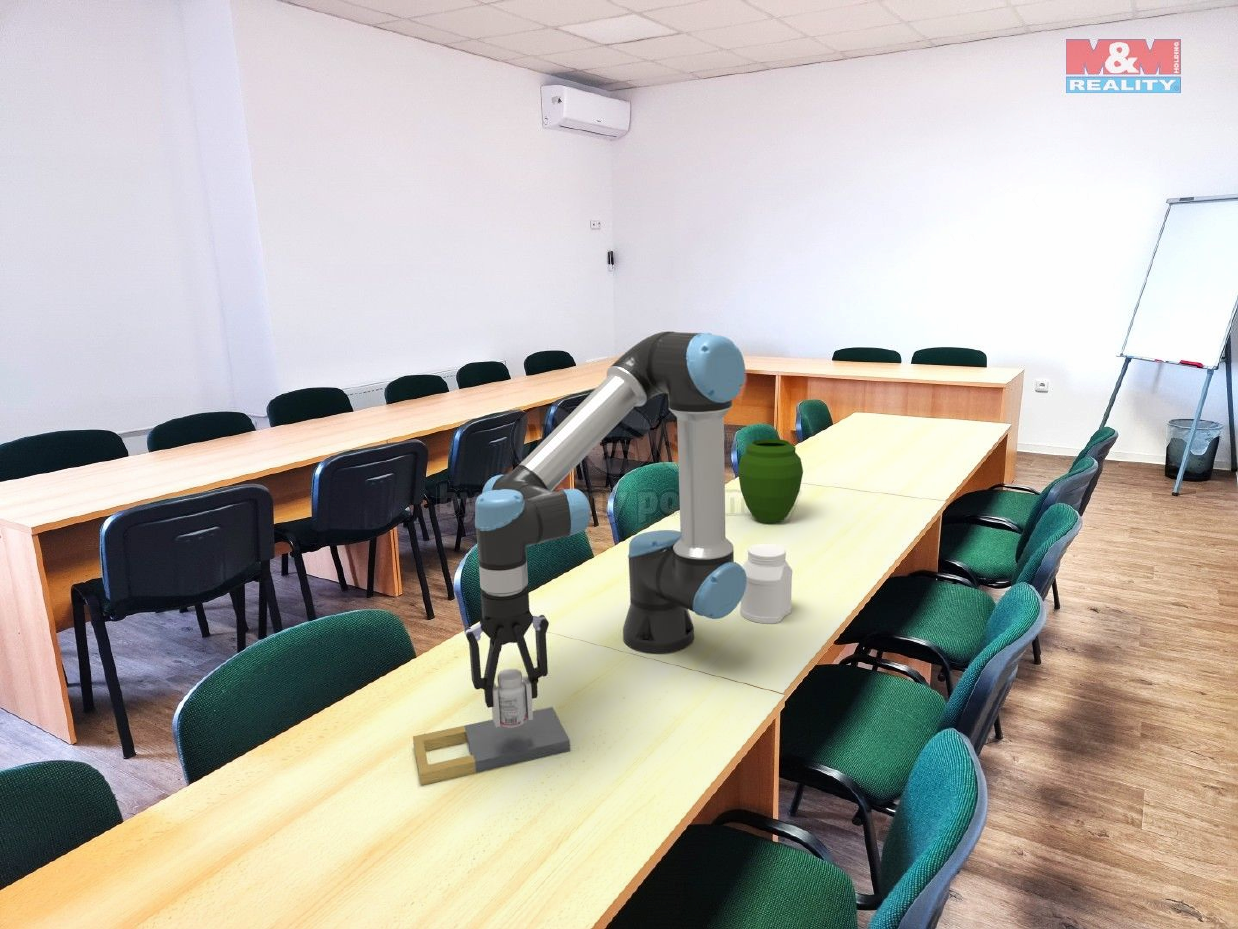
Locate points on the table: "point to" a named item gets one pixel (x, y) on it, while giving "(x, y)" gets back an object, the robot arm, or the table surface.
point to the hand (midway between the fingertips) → (512, 719)
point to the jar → (766, 584)
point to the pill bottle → (511, 698)
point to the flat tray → (491, 746)
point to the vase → (770, 479)
